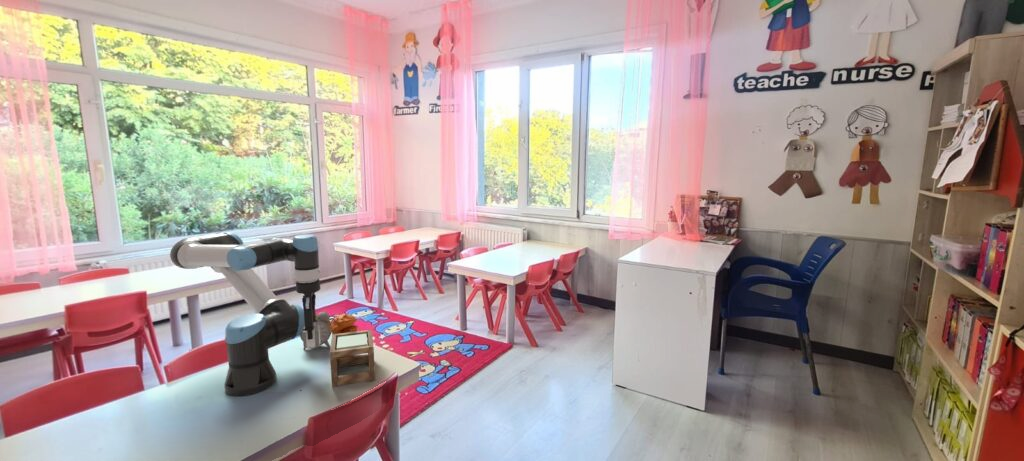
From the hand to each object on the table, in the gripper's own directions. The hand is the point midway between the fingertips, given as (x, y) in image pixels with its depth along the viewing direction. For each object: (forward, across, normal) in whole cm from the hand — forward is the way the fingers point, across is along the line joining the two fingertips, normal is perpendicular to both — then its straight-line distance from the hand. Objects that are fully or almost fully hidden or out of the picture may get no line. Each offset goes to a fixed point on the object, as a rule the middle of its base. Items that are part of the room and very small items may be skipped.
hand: (311, 343), depth 150 cm
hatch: (+1, -1, -13) cm, 13 cm away
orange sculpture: (+13, +13, -10) cm, 21 cm away
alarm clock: (+13, +26, +1) cm, 29 cm away
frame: (+12, -2, -13) cm, 18 cm away
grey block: (0, 0, 0) cm, 0 cm away
